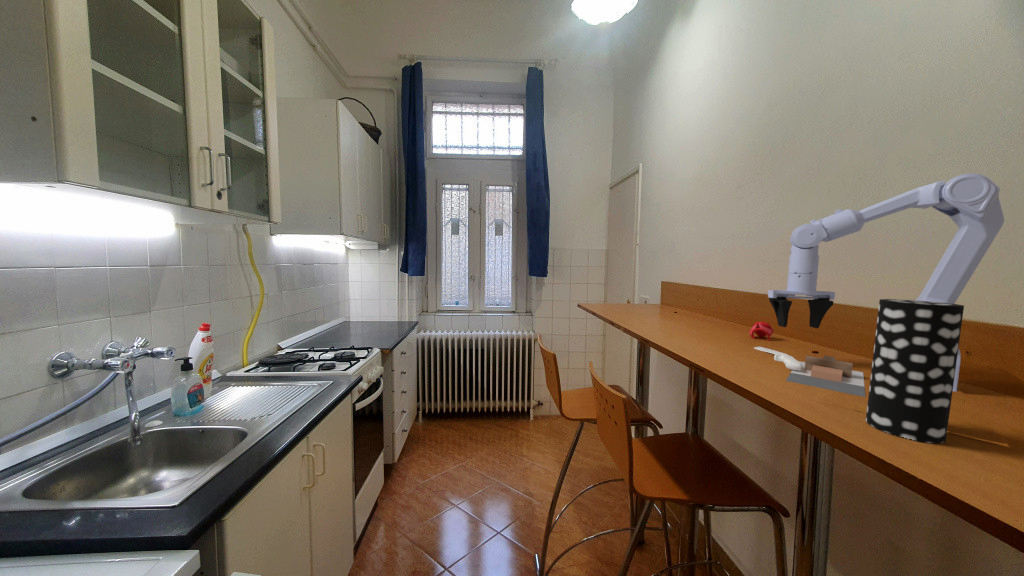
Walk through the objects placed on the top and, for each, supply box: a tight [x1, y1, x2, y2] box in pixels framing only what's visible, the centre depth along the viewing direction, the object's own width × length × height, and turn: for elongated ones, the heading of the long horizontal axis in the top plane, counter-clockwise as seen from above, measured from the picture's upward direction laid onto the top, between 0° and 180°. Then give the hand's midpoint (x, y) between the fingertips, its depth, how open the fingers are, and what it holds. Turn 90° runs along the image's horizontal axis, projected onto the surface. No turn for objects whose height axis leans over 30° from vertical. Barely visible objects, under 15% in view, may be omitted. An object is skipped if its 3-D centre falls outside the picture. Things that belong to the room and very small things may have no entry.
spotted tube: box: [865, 298, 965, 444], centre depth 54 cm, size 8×8×20 cm
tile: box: [811, 365, 843, 382], centre depth 78 cm, size 5×5×2 cm
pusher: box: [804, 355, 853, 378], centre depth 82 cm, size 8×6×3 cm
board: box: [785, 360, 866, 398], centre depth 79 cm, size 12×22×1 cm, turn 136°
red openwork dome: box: [748, 321, 774, 341], centre depth 119 cm, size 8×6×6 cm
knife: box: [753, 346, 802, 371], centre depth 95 cm, size 30×2×8 cm
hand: (798, 327), depth 89 cm, fingers open, 7 cm apart
